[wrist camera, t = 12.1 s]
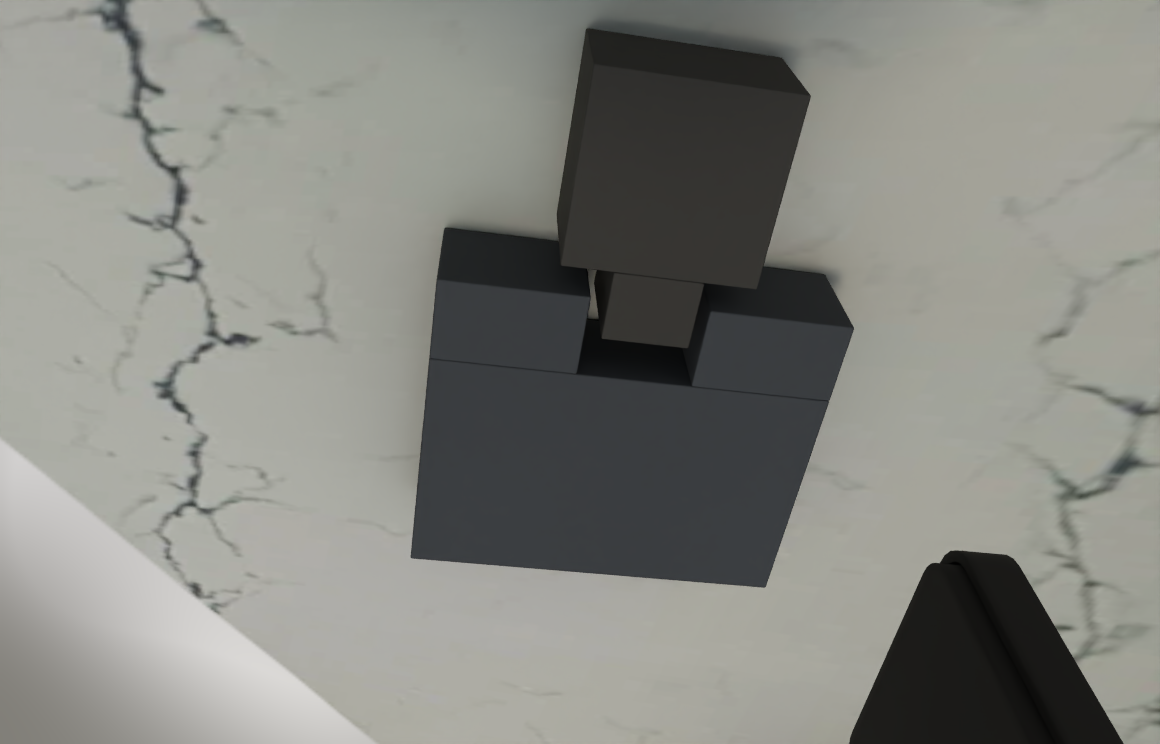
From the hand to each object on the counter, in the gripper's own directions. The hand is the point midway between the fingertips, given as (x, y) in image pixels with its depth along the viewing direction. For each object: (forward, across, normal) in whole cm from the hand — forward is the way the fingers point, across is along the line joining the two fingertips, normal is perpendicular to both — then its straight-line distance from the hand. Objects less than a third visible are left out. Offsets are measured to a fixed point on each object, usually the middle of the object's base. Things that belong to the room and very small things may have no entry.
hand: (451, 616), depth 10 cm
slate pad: (+26, -6, +14) cm, 30 cm away
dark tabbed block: (+26, -6, +5) cm, 27 cm away
